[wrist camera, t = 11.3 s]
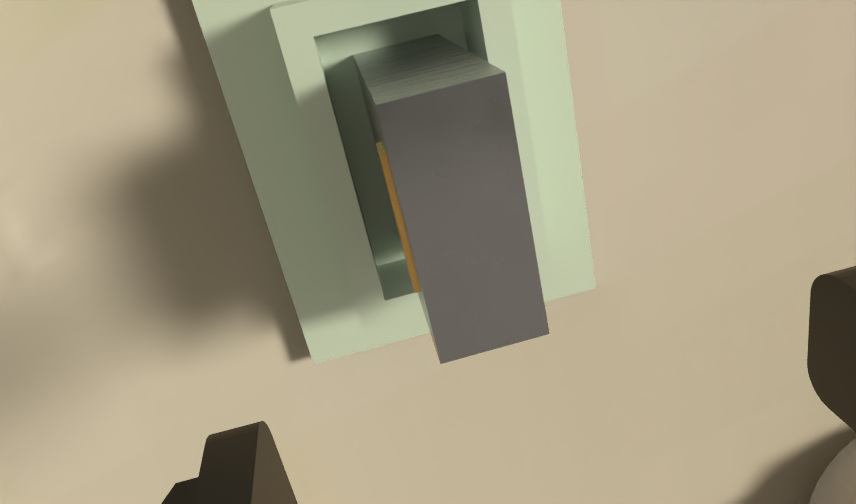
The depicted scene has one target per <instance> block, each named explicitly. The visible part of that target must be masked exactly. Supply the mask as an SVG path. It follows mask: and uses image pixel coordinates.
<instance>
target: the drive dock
mask: <svg viewBox="0 0 856 504" xmlns="http://www.w3.org/2000/svg"><path fill="white" fill-rule="evenodd" d="M192 3H193V6H194V9H195V12H196V15H197V18H198V21H199V24H200V27H201V30H202V32H203V35H204V38H205V41H206V44H207V47H208V50H209V53H210V56H211V59H212V62H213V65H214V68H215V71H216V74H217V77H218V80H219V83H220V86H221V89H222V92H223V95H224V98H225V101H226V104H227V107H228V110H229V113H230V116H231V119H232V122H233V125H234V128H235V131H236V134H237V137H238V140H239V143H240V146H241V149H242V152H243V155H244V158H245V161H246V164H247V167H248V170H249V173H250V176H251V179H252V182H253V185H254V188H255V191H256V194H257V197H258V200H259V203H260V206H261V209H262V212H263V215H264V218H265V221H266V224H267V226H268V229H269V232H270V235H271V238H272V241H273V244H274V247H275V250H276V253H277V256H278V259H279V262H280V265H281V268H282V271H283V274H284V277H285V280H286V283H287V286H288V289H289V292H290V295H291V298H292V301H293V304H294V307H295V310H296V313H297V316H298V319H299V322H300V325H301V328H302V331H303V334H304V337H305V340H306V343H307V346H308V349H309V352H310V355H311V358H312V361H313V364H316V363H319V362H323V361H327V360H331V359H334V358H338V357H342V356H345V355H349V354H353V353H357V352H360V351H364V350H368V349H371V348H375V347H379V346H383V345H386V344H390V343H394V342H397V341H401V340H405V339H409V338H412V337H416V336H420V335H423V334H427V333H430V330H429V327H428V324H427V321H426V318H425V315H424V311H423V308H422V305H421V302H420V299H419V296H418V293H415V291H414V288H413V285H412V282H411V278H410V275H409V272H408V268H407V264H406V260H405V256H404V252H403V248H402V244H401V241H400V238H399V234H398V230H397V226H396V222H395V218H394V214H393V210H392V207H391V203H390V199H389V195H388V191H387V187H386V183H385V179H384V175H383V171H382V168H381V164H380V160H379V156H378V152H377V148H376V144H375V140H374V136H373V132H372V129H371V125H370V121H369V117H368V113H367V109H366V105H365V101H364V97H363V93H362V89H361V86H360V82H359V78H358V74H357V70H356V66H355V62H354V58H353V55H354V54H358V53H362V52H366V51H370V50H374V49H378V48H382V47H386V46H390V45H394V44H398V43H402V42H406V41H410V40H414V39H418V38H422V37H427V36H431V35H435V34H439V35H441V36H442V37H444V38H446V39H448V40H449V41H451V42H453V43H455V44H457V45H458V46H460V47H462V48H464V49H465V50H467V51H469V52H471V53H473V54H474V55H476V56H478V57H480V58H481V59H483V60H485V61H487V62H489V63H490V64H492V65H494V66H496V67H497V68H499V69H501V70H503V71H505V72H506V77H507V83H508V89H509V95H510V101H511V107H512V113H513V119H514V125H515V131H516V137H517V143H518V149H519V155H520V161H521V167H522V173H523V179H524V185H525V191H526V197H527V203H528V209H529V215H530V221H531V227H532V233H533V239H534V245H535V251H536V257H537V263H538V269H539V275H540V281H541V287H542V293H543V299H544V302H546V301H550V300H553V299H557V298H561V297H565V296H568V295H572V294H576V293H579V292H583V291H587V290H591V289H594V288H596V284H595V276H594V268H593V260H592V252H591V244H590V236H589V228H588V220H587V212H586V204H585V195H584V187H583V179H582V171H581V163H580V155H579V147H578V139H577V131H576V123H575V114H574V106H573V98H572V90H571V82H570V74H569V66H568V58H567V50H566V42H565V34H564V25H563V17H562V9H561V1H560V0H192Z"/></svg>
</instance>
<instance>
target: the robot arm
mask: <svg viewBox="0 0 856 504" xmlns="http://www.w3.org/2000/svg"><path fill="white" fill-rule="evenodd" d="M807 367H808V373H809V377H810V380H811V383H812V385H813V387H814V390H815V391H816V393H817V395H818V396H819V398H820V399H821V401H822V402H823V403H824V404H825V405H826V406H827V407H828V408H829V409H830V410H831V411H832V412H834V413H835V414H836V415H837V416H838V417H839V418H840V419H842V420H843V421H844V422H845V423H846V424H847V425H848V426H849V427H851V428H852V429H853V430H854V431H855V432H856V266H854V267H850V268H846V269H842V270H838V271H835V272H831V273H827V274H823V275H820V276H818V277H817V278H816V279H815V280H814V282H813V284H812V287H811V296H810V317H809V338H808V359H807ZM162 504H297V501H296V498H295V495H294V493H293V490H292V487H291V485H290V482H289V479H288V477H287V474H286V471H285V469H284V466H283V464H282V461H281V458H280V456H279V453H278V450H277V448H276V445H275V442H274V440H273V437H272V434H271V432H270V430H269V428H268V426H267V424H266V423H265V422H264V421H261V422H257V423H253V424H249V425H246V426H242V427H238V428H234V429H230V430H227V431H223V432H219V433H215V434H212V435H209V436H208V437H207V439H206V443H205V448H204V453H203V457H202V462H201V467H200V472H199V477H197V478H194V479H190V480H186V481H182V482H179V483H176V484H175V485H174V486H173V488H172V489H171V491H170V492H169V494H168V495H167V496H166V498H165V499H164V501H163V502H162Z"/></svg>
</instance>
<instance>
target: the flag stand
mask: <svg viewBox="0 0 856 504" xmlns="http://www.w3.org/2000/svg"><path fill="white" fill-rule="evenodd" d="M810 504H856V438H855V439H853V440H852V441H851V442H850V443H849V444H848V445H846V446H845V447H844V448H843V449H842V450H841V451H840V452H839V453H838V454H837V456H836V457H835V458H834V459H833V460H832V461H831V462H830V464H829V465H828V466H827V468H826V469H825V471H824V472H823V474H822V475H821V477H820V478H819V480H818V482H817V484H816V487H815V489H814V491H813V493H812V496H811V499H810Z"/></svg>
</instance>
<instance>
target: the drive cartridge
mask: <svg viewBox="0 0 856 504" xmlns="http://www.w3.org/2000/svg"><path fill="white" fill-rule="evenodd" d="M353 58H354V62H355V66H356V70H357V74H358V78H359V82H360V86H361V89H362V93H363V97H364V101H365V105H366V109H367V113H368V117H369V121H370V125H371V129H372V132H373V136H374V140H375V144H376V148H377V152H378V156H379V160H380V164H381V168H382V171H383V175H384V179H385V183H386V187H387V191H388V195H389V199H390V203H391V207H392V210H393V214H394V218H395V222H396V226H397V230H398V234H399V238H400V241H401V244H402V248H403V252H404V256H405V260H406V264H407V268H408V272H409V275H410V278H411V282H412V285H413V288H414V291H415V293H418V296H419V299H420V302H421V305H422V308H423V311H424V315H425V318H426V321H427V324H428V327H429V330H430V333H431V336H432V339H433V342H434V345H435V348H436V351H437V354H438V357H439V360H440V364H442V363H446V362H449V361H453V360H457V359H460V358H464V357H467V356H471V355H475V354H478V353H482V352H485V351H489V350H493V349H496V348H500V347H504V346H507V345H511V344H514V343H518V342H522V341H525V340H529V339H532V338H536V337H540V336H543V335H547V334H549V329H548V323H547V317H546V311H545V305H544V299H543V293H542V287H541V281H540V275H539V269H538V263H537V257H536V251H535V245H534V239H533V233H532V227H531V221H530V215H529V209H528V203H527V197H526V191H525V185H524V179H523V173H522V167H521V161H520V155H519V149H518V143H517V137H516V131H515V125H514V119H513V113H512V107H511V101H510V95H509V89H508V83H507V77H506V72H505V71H503V70H501V69H499V68H497V67H496V66H494V65H492V64H490V63H489V62H487V61H485V60H483V59H481V58H480V57H478V56H476V55H474V54H473V53H471V52H469V51H467V50H465V49H464V48H462V47H460V46H458V45H457V44H455V43H453V42H451V41H449V40H448V39H446V38H444V37H442V36H441V35H439V34H435V35H431V36H427V37H422V38H418V39H414V40H410V41H406V42H402V43H398V44H394V45H390V46H386V47H382V48H378V49H374V50H370V51H366V52H362V53H358V54H354V55H353Z"/></svg>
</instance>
